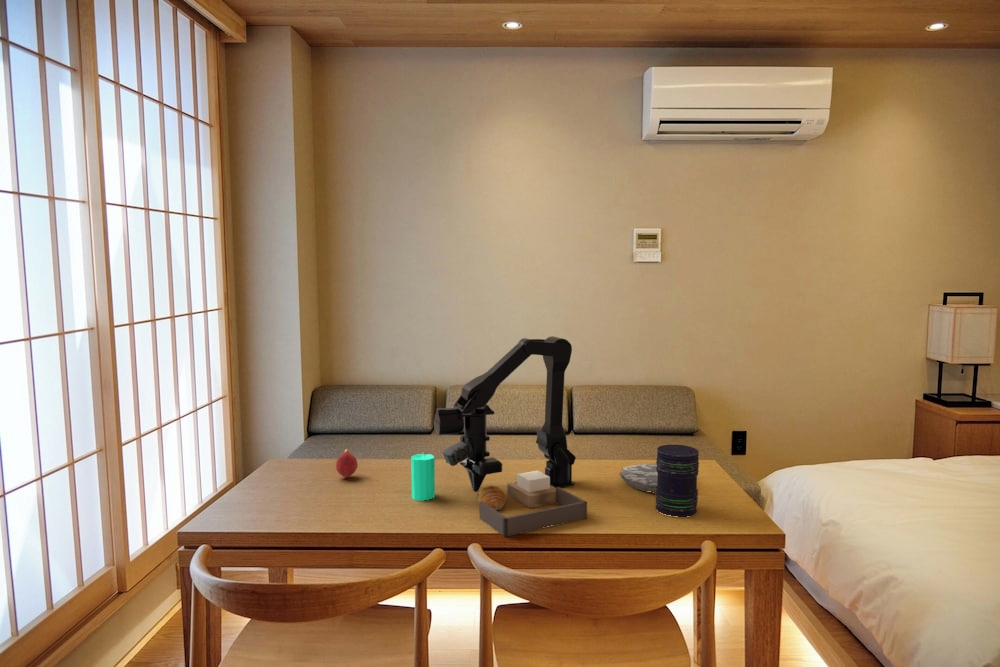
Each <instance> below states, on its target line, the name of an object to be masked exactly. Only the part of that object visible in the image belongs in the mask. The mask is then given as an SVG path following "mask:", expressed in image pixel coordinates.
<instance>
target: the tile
mask: <svg viewBox="0 0 1000 667" xmlns="http://www.w3.org/2000/svg"><path fill="white" fill-rule="evenodd" d="M516 482H517V485H518V486H519V487H521V488H523V489H524V490H526V491H528V492H534V491H540V490H545V489H550V477H549V476H547V475H545V473H543V472H541V471H540V470H538V469H537V470H533V471H527V472H522V473H520V472H519V473H517V475H516Z"/></svg>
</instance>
